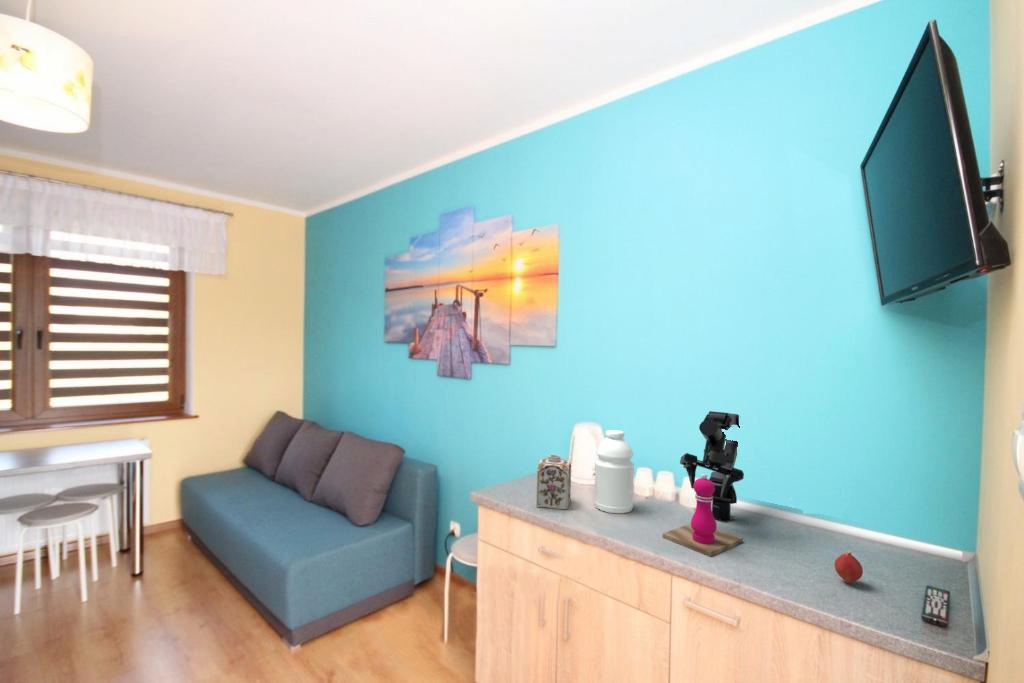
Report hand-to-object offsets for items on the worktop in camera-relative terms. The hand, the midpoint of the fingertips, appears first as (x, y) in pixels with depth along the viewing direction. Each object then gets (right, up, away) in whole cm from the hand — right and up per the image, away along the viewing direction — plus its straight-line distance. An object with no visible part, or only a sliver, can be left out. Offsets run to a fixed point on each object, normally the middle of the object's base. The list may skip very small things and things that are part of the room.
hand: (707, 493), depth 148 cm
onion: (+23, -13, -31) cm, 40 cm away
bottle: (-25, -13, +22) cm, 36 cm away
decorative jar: (-47, -12, +25) cm, 55 cm away
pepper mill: (-5, -11, -9) cm, 15 cm away
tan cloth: (-4, -12, -6) cm, 14 cm away
